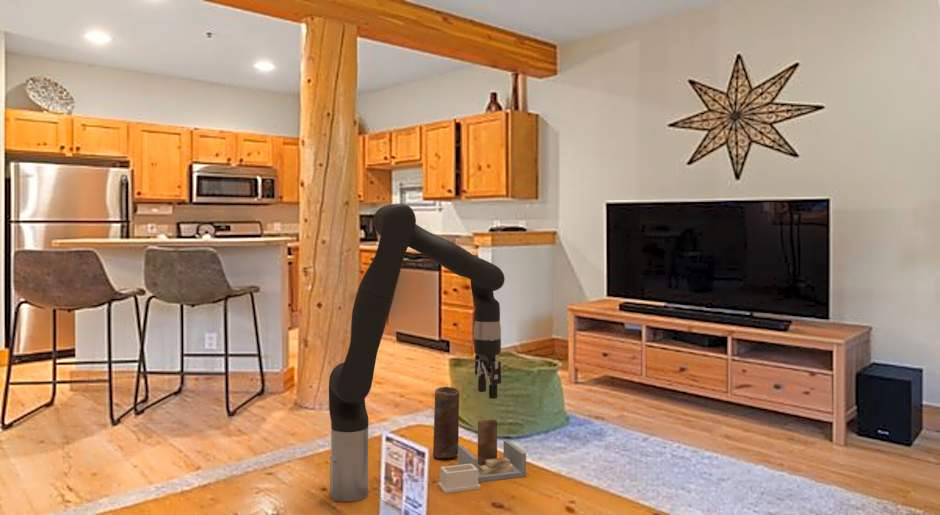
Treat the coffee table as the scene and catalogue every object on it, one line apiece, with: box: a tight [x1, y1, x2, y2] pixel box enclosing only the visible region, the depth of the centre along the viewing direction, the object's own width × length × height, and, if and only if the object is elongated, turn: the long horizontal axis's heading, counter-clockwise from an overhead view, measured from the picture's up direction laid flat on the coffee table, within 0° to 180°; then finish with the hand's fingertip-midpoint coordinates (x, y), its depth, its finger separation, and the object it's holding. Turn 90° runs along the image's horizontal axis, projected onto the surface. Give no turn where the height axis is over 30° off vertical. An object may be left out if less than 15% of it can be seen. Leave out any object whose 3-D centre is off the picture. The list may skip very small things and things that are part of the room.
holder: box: [437, 463, 482, 494], centre depth 167 cm, size 10×6×5 cm, turn 109°
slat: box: [477, 418, 498, 466], centre depth 181 cm, size 5×2×12 cm, turn 109°
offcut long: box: [478, 463, 514, 475], centre depth 175 cm, size 9×3×2 cm, turn 109°
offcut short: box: [486, 457, 510, 469], centre depth 175 cm, size 6×3×2 cm, turn 113°
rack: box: [457, 439, 527, 483], centre depth 178 cm, size 15×13×6 cm
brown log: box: [432, 386, 460, 460], centre depth 190 cm, size 8×7×20 cm
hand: (487, 395), depth 181 cm, fingers open, 8 cm apart
